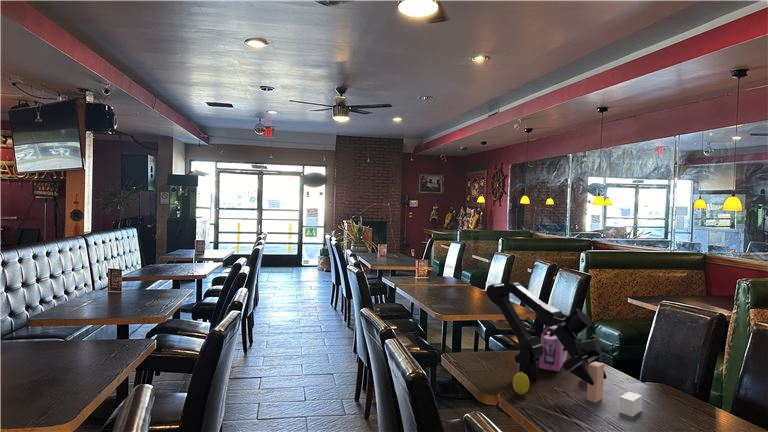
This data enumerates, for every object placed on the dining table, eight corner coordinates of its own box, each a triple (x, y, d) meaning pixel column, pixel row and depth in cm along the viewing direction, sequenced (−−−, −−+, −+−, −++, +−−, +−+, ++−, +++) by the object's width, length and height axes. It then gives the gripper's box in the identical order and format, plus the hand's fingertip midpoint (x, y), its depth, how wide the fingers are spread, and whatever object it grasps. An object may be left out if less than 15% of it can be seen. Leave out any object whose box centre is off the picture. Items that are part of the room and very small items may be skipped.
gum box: (558, 373, 186) (560, 339, 185) (538, 369, 189) (539, 335, 189) (567, 356, 206) (568, 326, 206) (548, 353, 210) (549, 323, 210)
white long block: (577, 399, 160) (578, 383, 160) (587, 394, 165) (588, 378, 165) (632, 418, 147) (633, 401, 147) (641, 412, 151) (642, 395, 151)
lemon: (529, 393, 164) (530, 370, 164) (528, 399, 159) (529, 375, 159) (512, 390, 166) (513, 368, 166) (511, 396, 161) (512, 373, 161)
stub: (586, 399, 159) (588, 364, 159) (593, 396, 162) (595, 361, 162) (595, 402, 157) (597, 366, 156) (602, 398, 160) (604, 363, 160)
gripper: (572, 332, 156) (605, 375, 148) (598, 324, 168) (629, 363, 160) (549, 350, 162) (579, 392, 154) (576, 341, 174) (605, 379, 166)
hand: (599, 381), depth 158 cm, fingers open, 9 cm apart
